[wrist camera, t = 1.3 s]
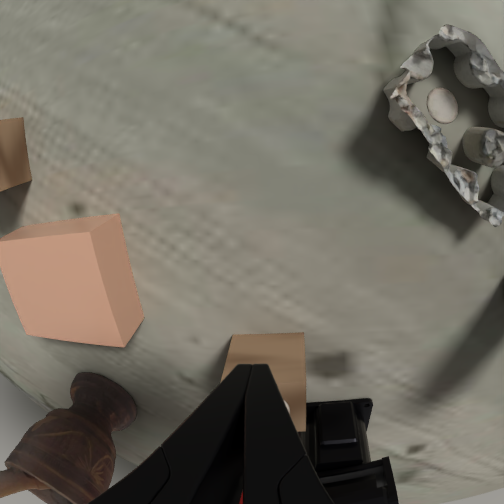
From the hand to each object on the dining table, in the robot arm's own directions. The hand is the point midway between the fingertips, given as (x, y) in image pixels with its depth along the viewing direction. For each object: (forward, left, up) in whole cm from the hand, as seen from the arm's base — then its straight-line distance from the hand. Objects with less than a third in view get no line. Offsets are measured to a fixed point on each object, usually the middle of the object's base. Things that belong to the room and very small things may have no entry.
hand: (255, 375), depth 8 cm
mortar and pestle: (-15, +19, -12) cm, 27 cm away
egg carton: (+6, -12, -12) cm, 19 cm away
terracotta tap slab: (-2, +15, -12) cm, 20 cm away
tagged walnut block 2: (-10, +1, -12) cm, 16 cm away
